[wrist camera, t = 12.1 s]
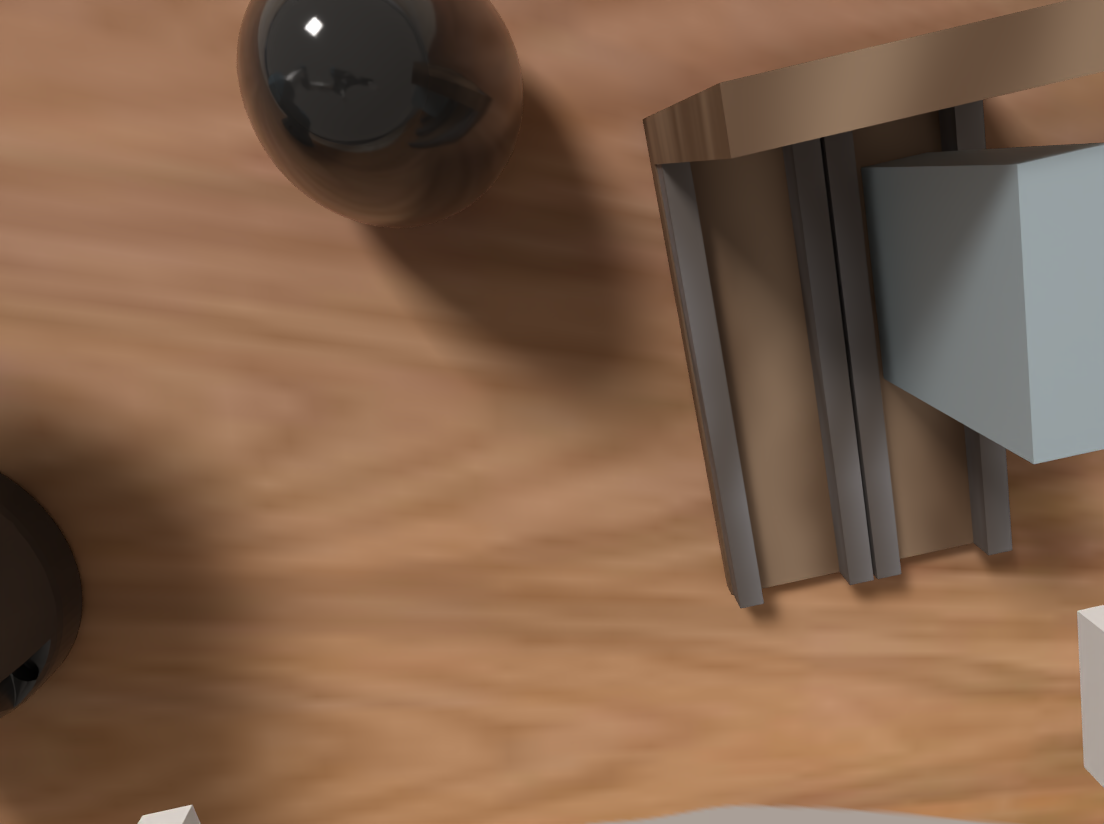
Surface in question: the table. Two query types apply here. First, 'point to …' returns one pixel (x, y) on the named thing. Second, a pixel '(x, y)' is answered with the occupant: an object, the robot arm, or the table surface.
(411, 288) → the table surface
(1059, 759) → the table surface
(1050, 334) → the pale grey rectangular block
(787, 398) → the track sill
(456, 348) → the table surface
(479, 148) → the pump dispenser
